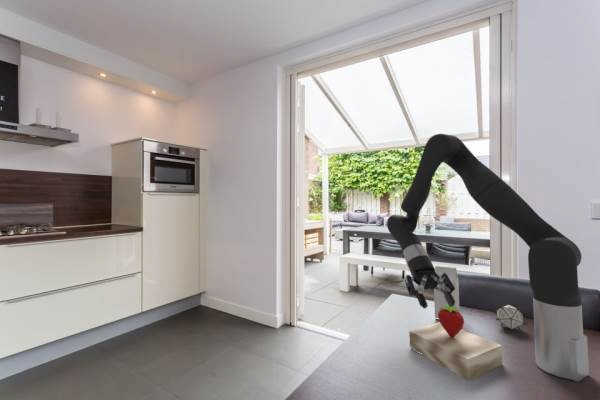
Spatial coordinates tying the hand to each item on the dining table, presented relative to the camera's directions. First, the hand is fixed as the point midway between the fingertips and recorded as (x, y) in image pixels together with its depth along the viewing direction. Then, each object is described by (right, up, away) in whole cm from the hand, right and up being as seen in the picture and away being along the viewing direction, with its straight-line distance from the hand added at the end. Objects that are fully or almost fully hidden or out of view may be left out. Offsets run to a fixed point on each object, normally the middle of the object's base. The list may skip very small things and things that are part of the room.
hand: (439, 306), depth 86 cm
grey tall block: (+13, -12, +20) cm, 27 cm away
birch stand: (+1, -12, -6) cm, 13 cm away
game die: (+29, -11, +10) cm, 33 cm away
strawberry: (+1, -7, -6) cm, 9 cm away
